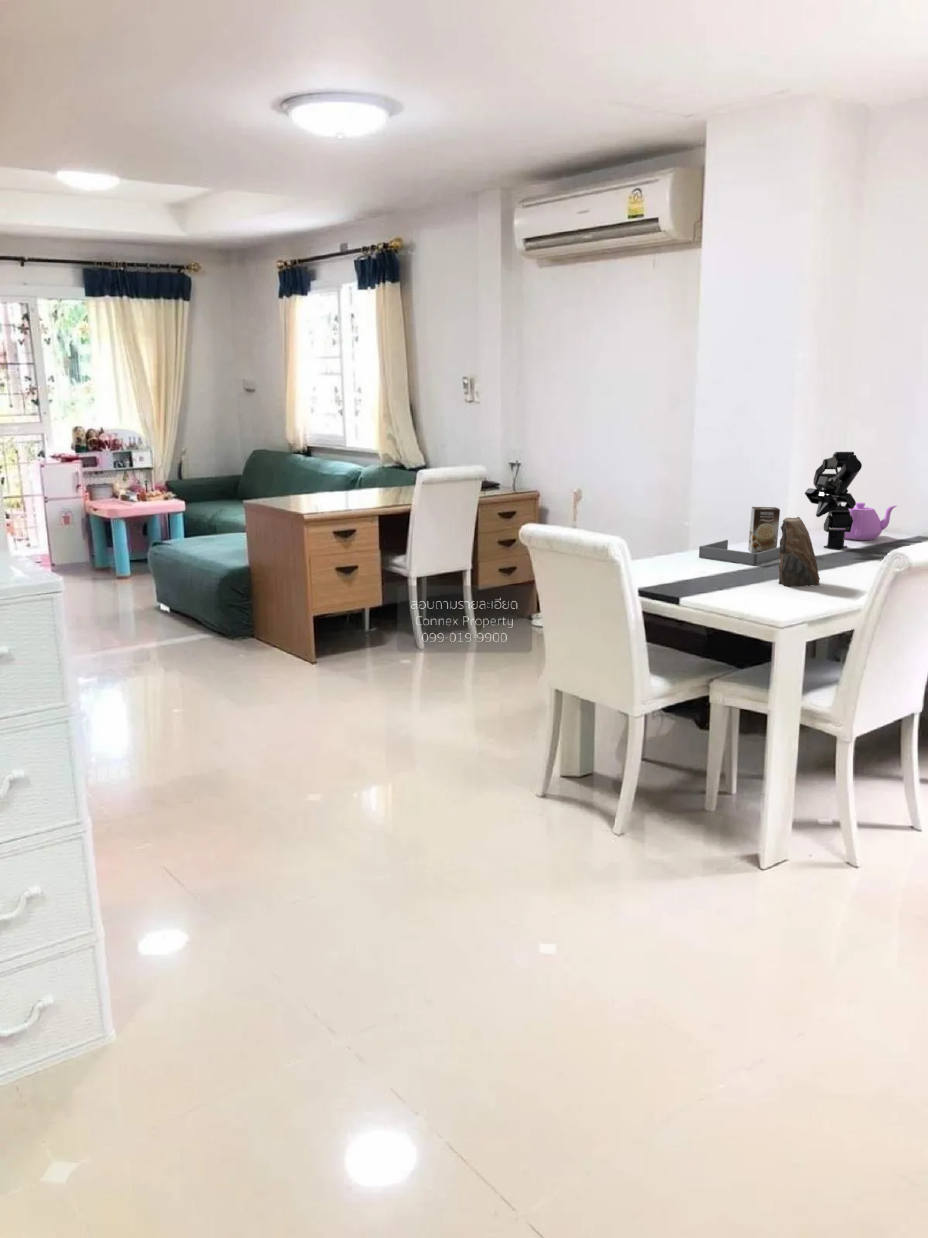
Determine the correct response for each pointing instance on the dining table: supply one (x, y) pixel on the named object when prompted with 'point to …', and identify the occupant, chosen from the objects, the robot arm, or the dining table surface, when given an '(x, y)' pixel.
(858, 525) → the teapot
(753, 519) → the coffee box
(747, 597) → the dining table surface
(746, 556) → the box
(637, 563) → the dining table surface
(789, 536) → the brown rock
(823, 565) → the dining table surface
